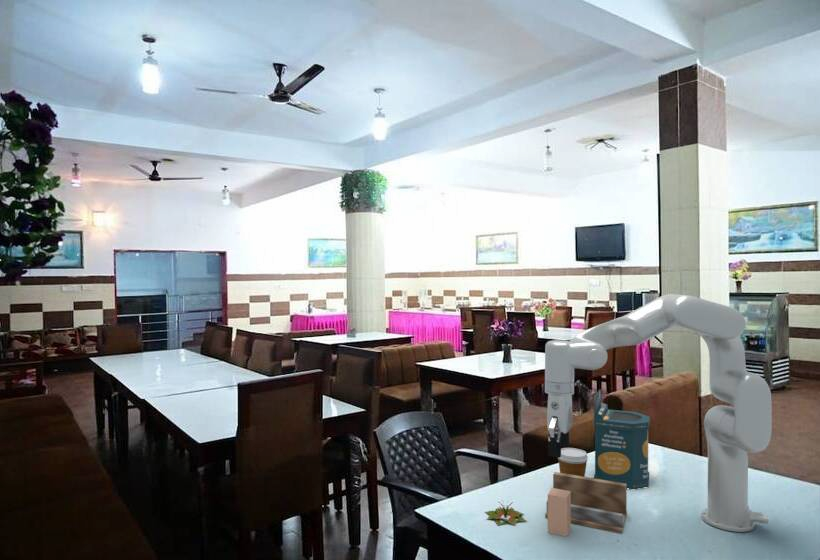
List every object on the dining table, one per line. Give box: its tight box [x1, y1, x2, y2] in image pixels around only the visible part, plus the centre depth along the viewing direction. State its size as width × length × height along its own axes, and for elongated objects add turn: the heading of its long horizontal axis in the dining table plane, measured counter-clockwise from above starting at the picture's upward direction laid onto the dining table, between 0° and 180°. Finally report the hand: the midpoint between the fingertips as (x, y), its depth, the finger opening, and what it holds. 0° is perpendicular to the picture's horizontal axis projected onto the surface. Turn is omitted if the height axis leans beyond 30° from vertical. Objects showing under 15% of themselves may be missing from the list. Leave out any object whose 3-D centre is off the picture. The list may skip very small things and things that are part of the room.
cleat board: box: [544, 471, 628, 535], centre depth 152 cm, size 20×13×9 cm, turn 63°
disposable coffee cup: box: [557, 447, 589, 477], centre depth 170 cm, size 10×10×12 cm
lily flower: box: [485, 500, 527, 527], centre depth 151 cm, size 12×12×5 cm
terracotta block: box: [547, 487, 572, 537], centre depth 143 cm, size 5×5×10 cm
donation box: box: [593, 388, 651, 490], centre depth 179 cm, size 16×16×28 cm
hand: (558, 451), depth 144 cm, fingers open, 9 cm apart
